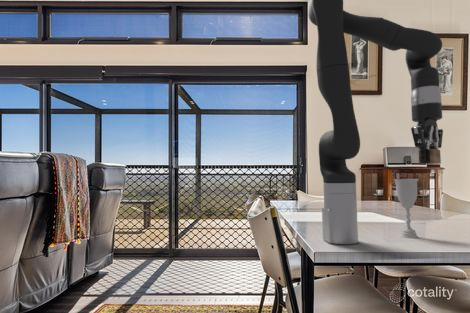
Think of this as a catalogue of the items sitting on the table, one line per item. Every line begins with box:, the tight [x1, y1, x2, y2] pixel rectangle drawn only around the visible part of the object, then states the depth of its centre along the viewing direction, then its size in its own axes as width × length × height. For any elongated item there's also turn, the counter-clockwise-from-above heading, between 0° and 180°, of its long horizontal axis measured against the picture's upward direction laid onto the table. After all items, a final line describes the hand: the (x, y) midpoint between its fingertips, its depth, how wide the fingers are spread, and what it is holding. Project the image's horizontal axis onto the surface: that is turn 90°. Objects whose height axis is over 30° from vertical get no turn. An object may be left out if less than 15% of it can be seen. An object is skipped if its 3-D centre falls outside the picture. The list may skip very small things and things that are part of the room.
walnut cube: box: [418, 149, 442, 165], centre depth 89 cm, size 4×4×4 cm
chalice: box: [394, 178, 419, 239], centre depth 98 cm, size 7×7×18 cm
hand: (429, 162), depth 89 cm, fingers closed on walnut cube, 4 cm apart
